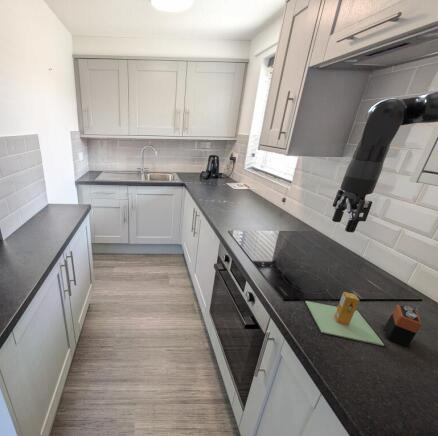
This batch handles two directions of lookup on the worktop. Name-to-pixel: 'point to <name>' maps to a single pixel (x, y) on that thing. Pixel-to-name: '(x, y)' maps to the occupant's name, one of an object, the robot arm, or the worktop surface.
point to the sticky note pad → (329, 325)
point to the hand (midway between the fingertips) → (342, 226)
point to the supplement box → (346, 308)
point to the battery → (403, 325)
